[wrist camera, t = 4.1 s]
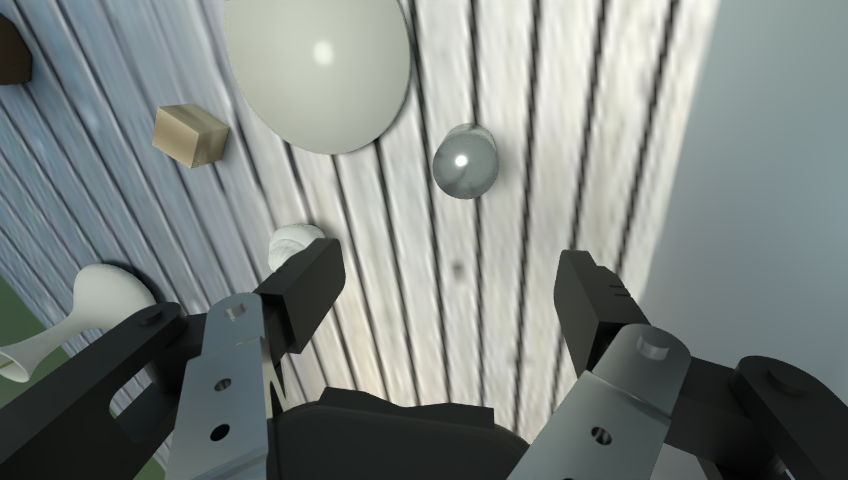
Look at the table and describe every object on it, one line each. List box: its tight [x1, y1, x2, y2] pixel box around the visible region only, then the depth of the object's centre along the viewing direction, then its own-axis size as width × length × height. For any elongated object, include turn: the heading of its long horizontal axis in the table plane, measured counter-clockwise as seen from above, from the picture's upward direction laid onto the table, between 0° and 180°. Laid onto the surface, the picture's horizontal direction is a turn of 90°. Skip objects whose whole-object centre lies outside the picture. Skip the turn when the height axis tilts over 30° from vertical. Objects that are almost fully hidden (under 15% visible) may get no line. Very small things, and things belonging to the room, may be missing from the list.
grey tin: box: [433, 123, 499, 199], centre depth 26 cm, size 5×5×6 cm
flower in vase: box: [0, 264, 156, 382], centre depth 35 cm, size 13×11×25 cm
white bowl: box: [224, 0, 412, 154], centre depth 27 cm, size 16×16×2 cm
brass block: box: [152, 104, 230, 169], centre depth 31 cm, size 4×4×4 cm
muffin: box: [268, 224, 325, 272], centre depth 33 cm, size 6×6×7 cm
